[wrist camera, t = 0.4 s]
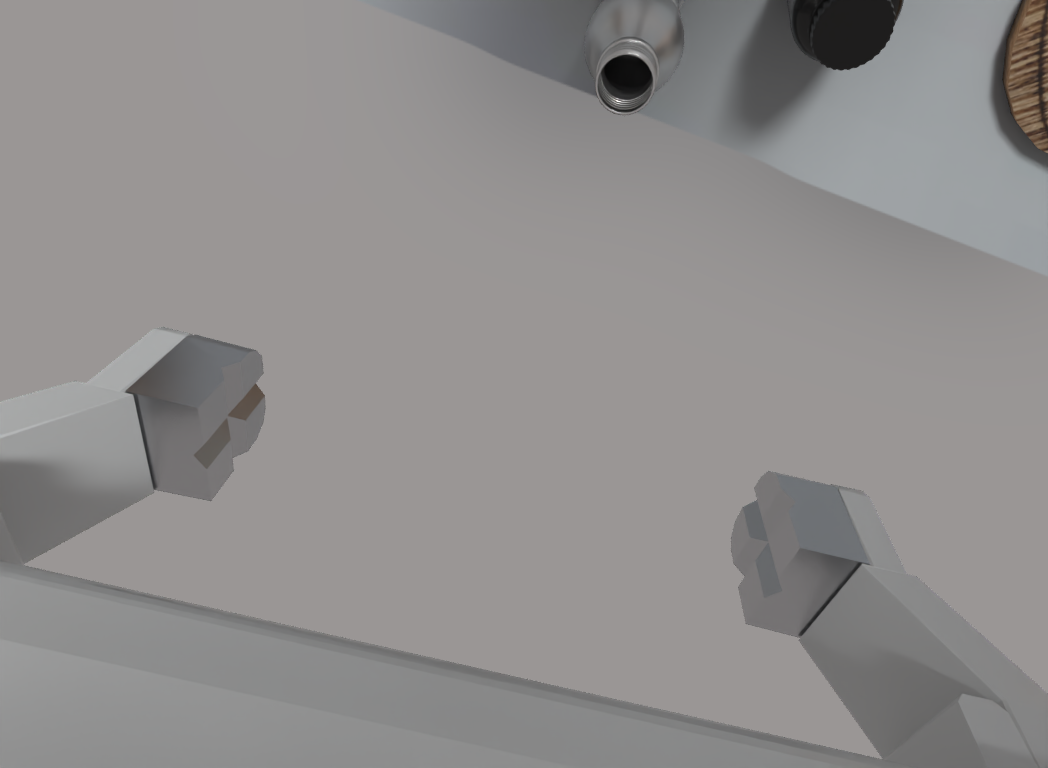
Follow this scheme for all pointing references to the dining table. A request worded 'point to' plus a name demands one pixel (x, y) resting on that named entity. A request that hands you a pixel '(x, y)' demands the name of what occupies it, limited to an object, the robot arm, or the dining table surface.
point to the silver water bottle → (633, 50)
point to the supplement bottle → (843, 29)
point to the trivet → (1029, 71)
